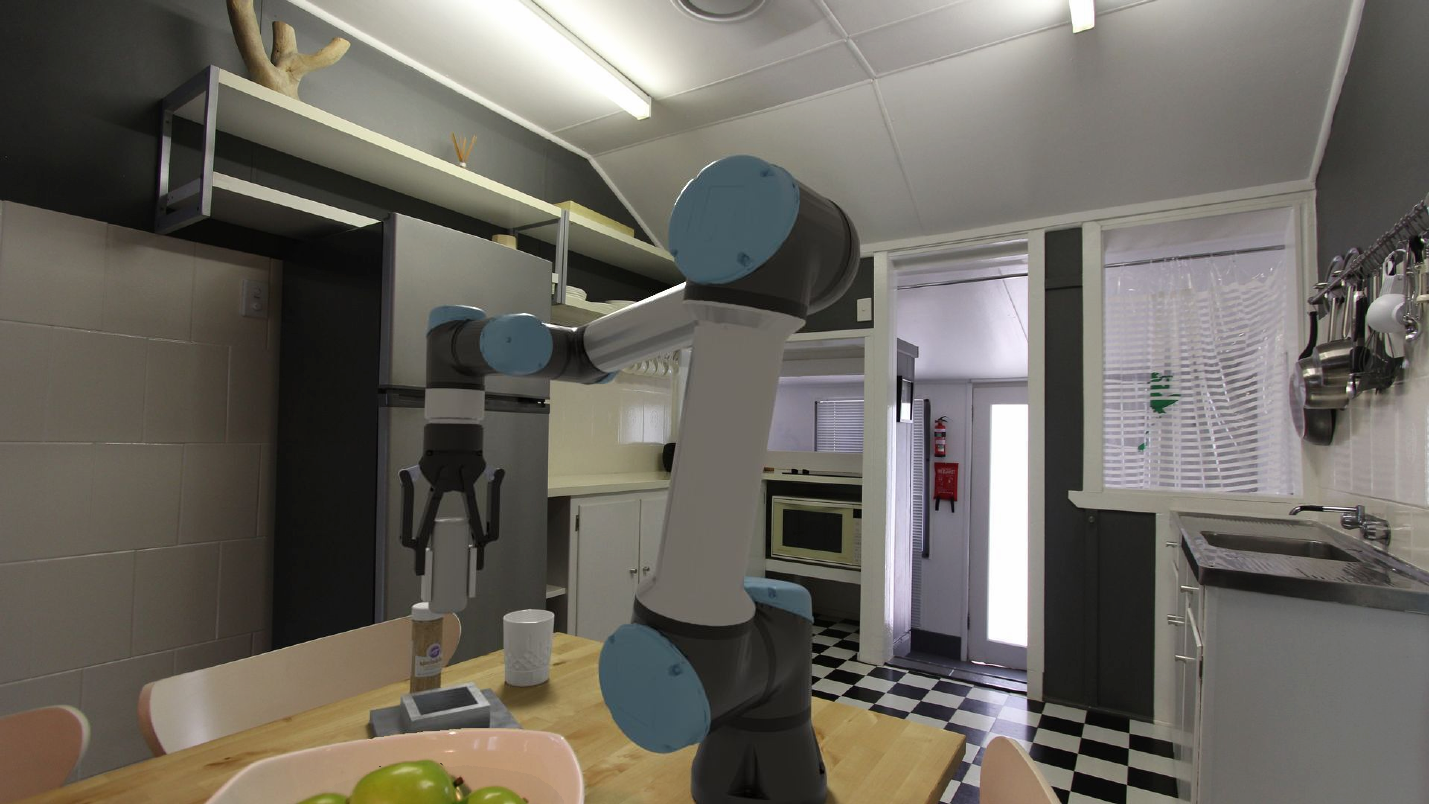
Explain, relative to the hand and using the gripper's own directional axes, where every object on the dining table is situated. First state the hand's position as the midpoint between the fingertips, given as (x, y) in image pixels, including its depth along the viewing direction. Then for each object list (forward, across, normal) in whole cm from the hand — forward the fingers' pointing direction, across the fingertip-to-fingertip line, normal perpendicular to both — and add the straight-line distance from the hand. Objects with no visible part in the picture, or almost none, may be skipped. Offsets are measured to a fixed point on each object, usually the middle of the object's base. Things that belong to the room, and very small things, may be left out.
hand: (448, 597), depth 89 cm
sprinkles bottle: (+18, 0, -14) cm, 22 cm away
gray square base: (+17, 0, 0) cm, 17 cm away
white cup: (+18, -15, -13) cm, 27 cm away
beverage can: (+2, 0, 0) cm, 2 cm away
